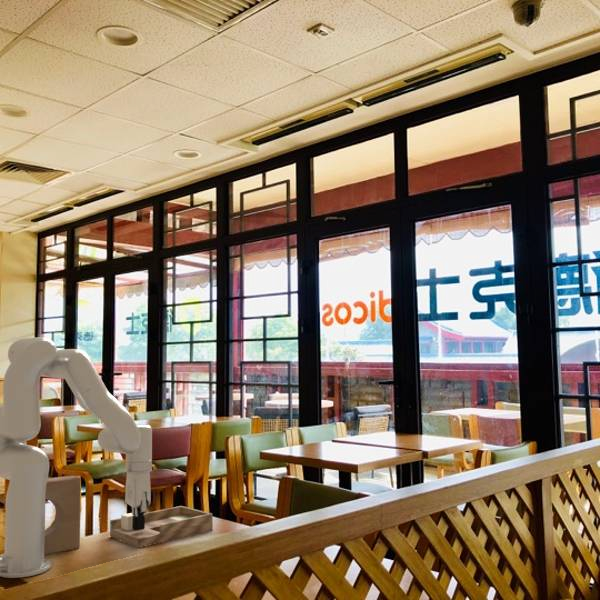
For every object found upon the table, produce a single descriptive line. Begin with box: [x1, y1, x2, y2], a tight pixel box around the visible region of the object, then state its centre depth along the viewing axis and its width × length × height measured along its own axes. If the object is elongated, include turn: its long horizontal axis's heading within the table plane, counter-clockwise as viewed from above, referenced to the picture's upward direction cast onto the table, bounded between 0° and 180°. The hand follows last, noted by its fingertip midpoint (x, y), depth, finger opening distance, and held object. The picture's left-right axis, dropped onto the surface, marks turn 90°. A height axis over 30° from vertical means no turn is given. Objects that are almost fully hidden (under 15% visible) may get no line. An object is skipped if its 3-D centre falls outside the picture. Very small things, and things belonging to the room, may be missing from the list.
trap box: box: [109, 505, 214, 548], centre depth 201 cm, size 26×17×5 cm, turn 135°
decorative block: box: [44, 474, 82, 556], centre depth 186 cm, size 11×6×20 cm, turn 128°
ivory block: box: [120, 512, 133, 530], centre depth 199 cm, size 4×4×4 cm
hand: (138, 529), depth 193 cm, fingers closed
